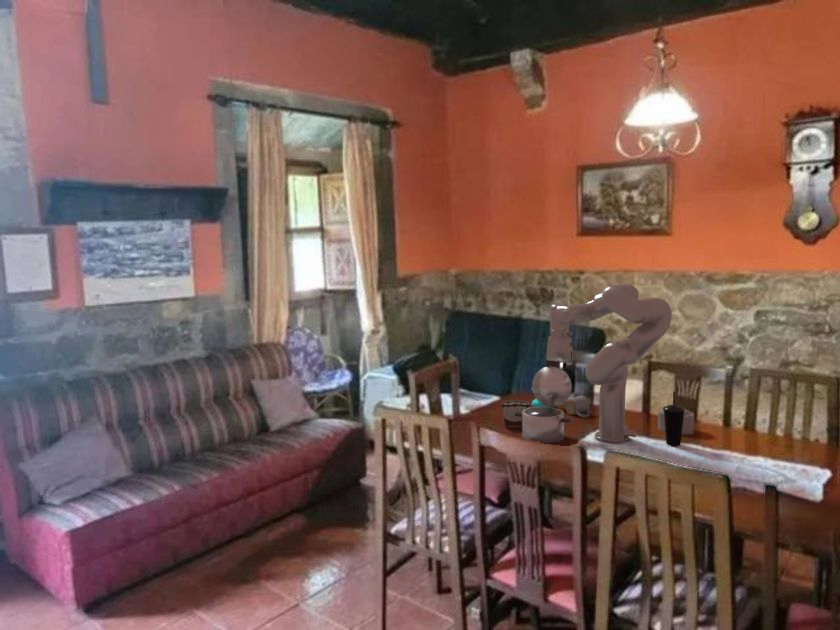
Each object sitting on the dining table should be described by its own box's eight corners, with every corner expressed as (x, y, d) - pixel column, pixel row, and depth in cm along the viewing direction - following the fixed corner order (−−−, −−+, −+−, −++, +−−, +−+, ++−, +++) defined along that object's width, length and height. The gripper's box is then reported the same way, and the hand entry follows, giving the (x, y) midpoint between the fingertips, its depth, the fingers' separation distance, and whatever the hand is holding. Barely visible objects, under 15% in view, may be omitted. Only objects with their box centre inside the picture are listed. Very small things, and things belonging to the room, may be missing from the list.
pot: (577, 435, 258) (577, 410, 257) (563, 446, 245) (563, 420, 243) (524, 428, 269) (524, 404, 268) (508, 438, 256) (508, 413, 255)
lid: (569, 408, 258) (571, 408, 261) (572, 362, 259) (574, 362, 261) (530, 404, 267) (533, 404, 269) (533, 359, 267) (535, 359, 270)
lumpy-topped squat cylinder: (669, 424, 269) (670, 403, 268) (699, 431, 259) (699, 409, 258) (654, 429, 263) (654, 408, 262) (684, 436, 253) (684, 414, 252)
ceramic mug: (563, 413, 290) (563, 396, 289) (578, 410, 294) (578, 393, 293) (579, 419, 281) (580, 401, 280) (594, 416, 284) (594, 399, 283)
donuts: (529, 383, 305) (551, 382, 306) (529, 404, 307) (551, 403, 307) (533, 388, 296) (555, 387, 296) (533, 410, 297) (556, 409, 297)
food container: (530, 422, 277) (529, 399, 276) (531, 427, 271) (530, 403, 270) (500, 422, 278) (500, 399, 277) (500, 427, 272) (500, 403, 271)
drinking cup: (670, 448, 239) (671, 394, 237) (658, 442, 246) (658, 390, 244) (689, 446, 241) (690, 392, 239) (675, 440, 248) (676, 388, 246)
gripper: (580, 333, 269) (579, 378, 271) (545, 331, 277) (545, 374, 279) (574, 336, 263) (574, 381, 265) (538, 334, 270) (538, 378, 273)
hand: (559, 378), depth 272 cm, fingers closed
